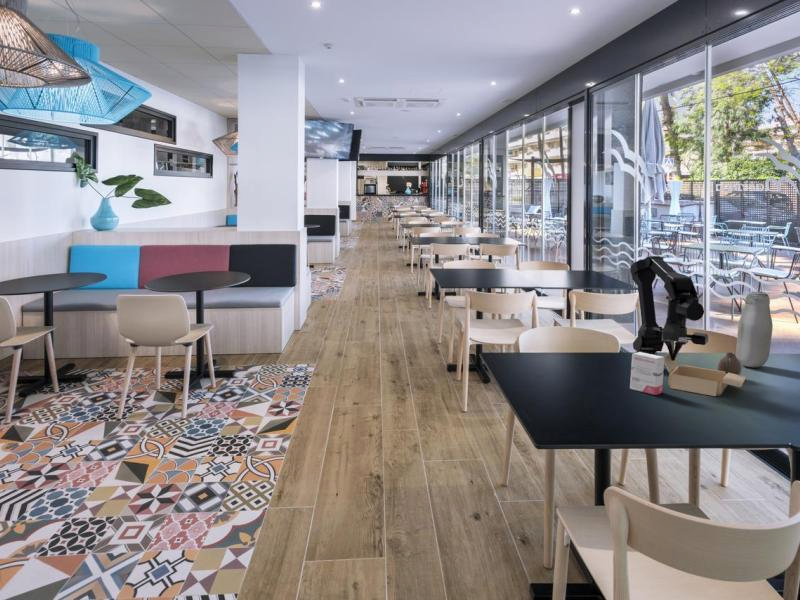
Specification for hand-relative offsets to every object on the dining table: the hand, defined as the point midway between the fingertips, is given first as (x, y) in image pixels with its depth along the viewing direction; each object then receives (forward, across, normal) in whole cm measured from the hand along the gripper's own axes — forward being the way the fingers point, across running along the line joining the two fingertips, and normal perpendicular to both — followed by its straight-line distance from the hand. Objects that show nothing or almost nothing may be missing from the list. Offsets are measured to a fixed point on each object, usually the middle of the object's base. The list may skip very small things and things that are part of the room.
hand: (673, 360), depth 183 cm
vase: (+8, +14, +16) cm, 23 cm away
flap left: (+3, +1, 0) cm, 3 cm away
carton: (+7, +8, 0) cm, 11 cm away
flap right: (+3, +15, 0) cm, 15 cm away
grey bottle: (+7, +19, +38) cm, 43 cm away
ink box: (+8, -4, -16) cm, 18 cm away
